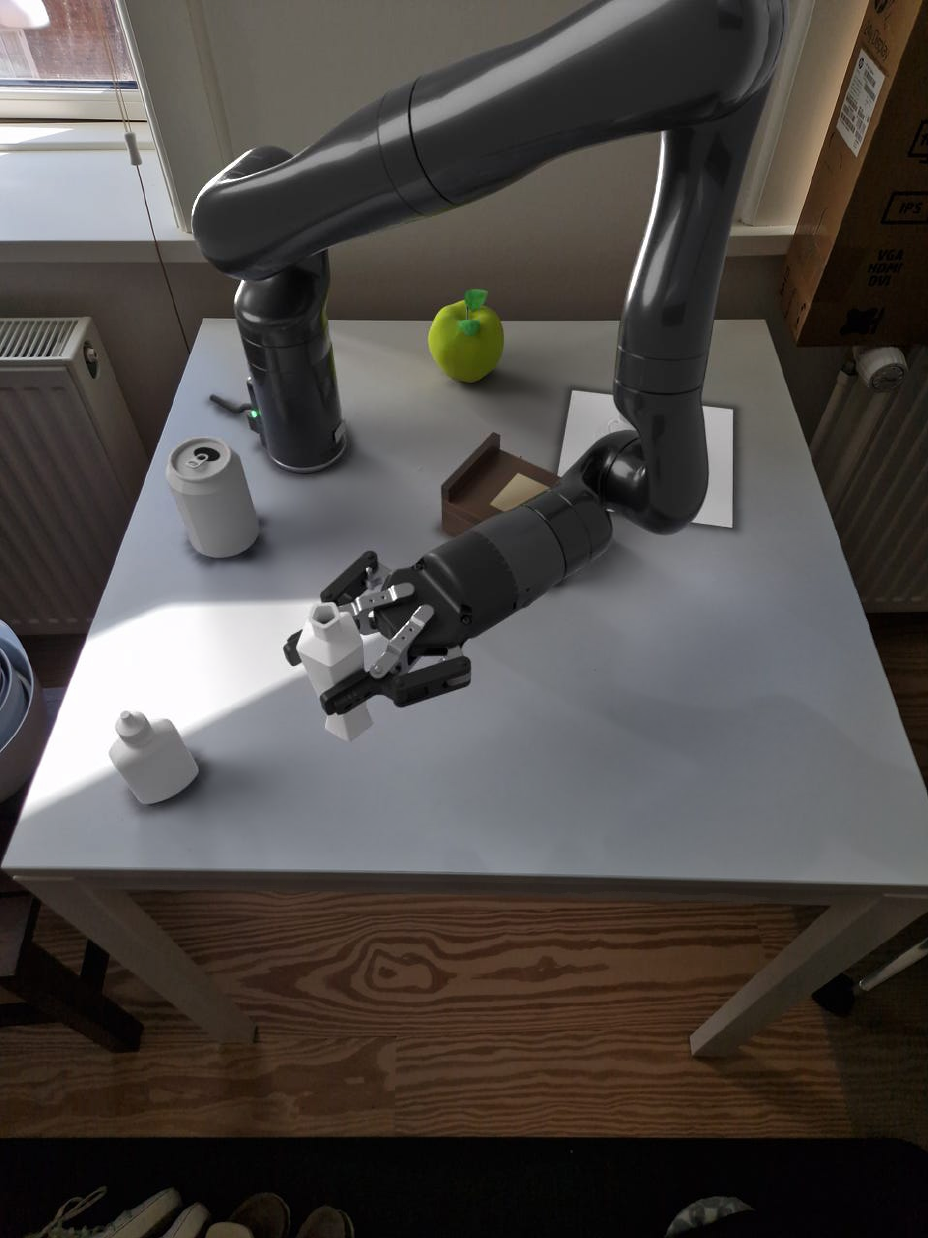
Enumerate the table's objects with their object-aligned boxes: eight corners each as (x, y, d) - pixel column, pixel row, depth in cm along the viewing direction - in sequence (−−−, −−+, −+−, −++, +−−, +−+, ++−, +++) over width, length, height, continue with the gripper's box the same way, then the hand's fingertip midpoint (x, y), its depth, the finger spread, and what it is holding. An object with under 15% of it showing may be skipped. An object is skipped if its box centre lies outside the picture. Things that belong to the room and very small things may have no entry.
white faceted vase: (369, 750, 68) (349, 649, 55) (316, 740, 68) (284, 637, 56) (384, 700, 70) (367, 593, 58) (333, 690, 71) (305, 582, 58)
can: (274, 524, 95) (252, 442, 85) (236, 572, 91) (209, 492, 81) (217, 503, 96) (190, 421, 87) (178, 549, 92) (144, 468, 83)
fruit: (508, 356, 112) (512, 287, 104) (492, 402, 107) (495, 333, 99) (441, 346, 113) (439, 277, 105) (422, 390, 108) (418, 321, 100)
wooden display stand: (441, 530, 94) (440, 485, 88) (491, 477, 99) (493, 431, 93) (551, 587, 89) (557, 543, 84) (597, 528, 94) (606, 482, 89)
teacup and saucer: (668, 424, 104) (674, 397, 101) (664, 469, 100) (671, 443, 96) (596, 415, 105) (600, 388, 102) (589, 459, 100) (594, 433, 97)
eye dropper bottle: (138, 762, 77) (91, 694, 68) (201, 756, 78) (163, 687, 68) (133, 807, 75) (84, 743, 65) (198, 800, 75) (158, 735, 66)
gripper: (438, 484, 67) (246, 586, 62) (555, 600, 61) (352, 727, 55) (440, 546, 74) (266, 644, 68) (547, 657, 67) (363, 777, 61)
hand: (306, 681), depth 61 cm, fingers closed on white faceted vase, 4 cm apart
